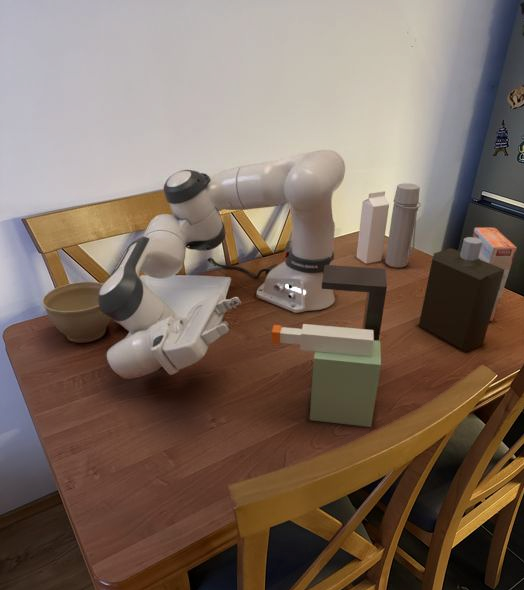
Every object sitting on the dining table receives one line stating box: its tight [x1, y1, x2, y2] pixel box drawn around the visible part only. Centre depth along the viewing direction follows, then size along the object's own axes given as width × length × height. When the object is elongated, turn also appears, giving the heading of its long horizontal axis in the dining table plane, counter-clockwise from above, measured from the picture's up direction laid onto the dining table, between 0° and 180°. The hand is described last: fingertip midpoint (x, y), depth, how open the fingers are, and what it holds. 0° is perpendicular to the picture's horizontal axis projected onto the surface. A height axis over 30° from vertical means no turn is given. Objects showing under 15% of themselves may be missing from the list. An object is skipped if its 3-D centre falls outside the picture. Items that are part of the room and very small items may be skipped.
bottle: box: [418, 236, 504, 353], centre depth 116 cm, size 8×16×25 cm, turn 33°
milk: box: [356, 191, 390, 265], centre depth 156 cm, size 6×6×22 cm
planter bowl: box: [42, 281, 112, 344], centre depth 121 cm, size 16×16×11 cm
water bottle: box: [384, 182, 422, 269], centre depth 151 cm, size 9×8×25 cm
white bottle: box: [271, 323, 374, 357], centre depth 91 cm, size 18×4×4 cm, turn 80°
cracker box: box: [471, 226, 517, 322], centre depth 128 cm, size 14×6×21 cm, turn 178°
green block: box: [309, 340, 382, 428], centre depth 95 cm, size 12×8×15 cm, turn 80°
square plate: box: [114, 274, 232, 324], centre depth 134 cm, size 27×27×4 cm
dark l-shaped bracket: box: [322, 264, 388, 341], centre depth 102 cm, size 12×8×25 cm, turn 80°
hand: (233, 313), depth 91 cm, fingers open, 8 cm apart
